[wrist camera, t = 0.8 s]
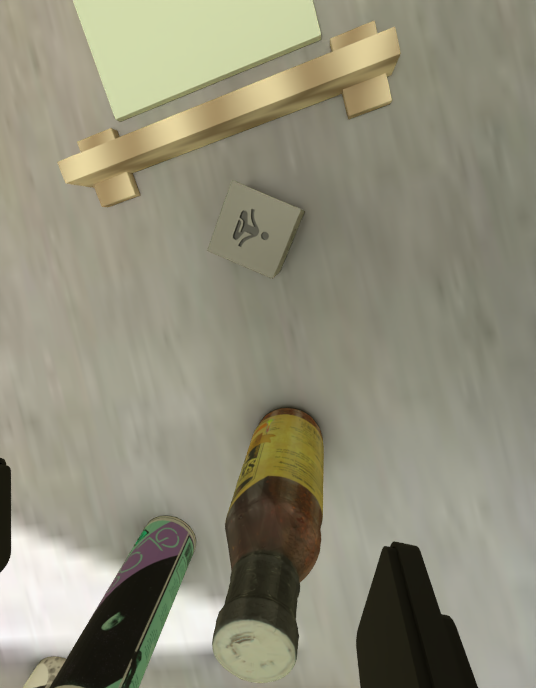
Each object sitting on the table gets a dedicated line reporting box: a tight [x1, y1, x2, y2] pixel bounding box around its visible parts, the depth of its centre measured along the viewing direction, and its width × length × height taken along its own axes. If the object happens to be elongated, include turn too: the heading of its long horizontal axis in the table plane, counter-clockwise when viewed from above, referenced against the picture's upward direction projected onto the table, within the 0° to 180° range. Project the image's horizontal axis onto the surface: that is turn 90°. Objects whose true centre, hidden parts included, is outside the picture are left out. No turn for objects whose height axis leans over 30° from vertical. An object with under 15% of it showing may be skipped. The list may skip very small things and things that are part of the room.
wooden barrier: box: [58, 21, 401, 207], centre depth 30 cm, size 24×5×4 cm, turn 107°
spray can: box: [49, 516, 196, 688], centre depth 34 cm, size 6×6×20 cm
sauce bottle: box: [212, 408, 324, 683], centre depth 29 cm, size 7×6×20 cm
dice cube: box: [207, 180, 305, 279], centre depth 32 cm, size 5×5×5 cm
